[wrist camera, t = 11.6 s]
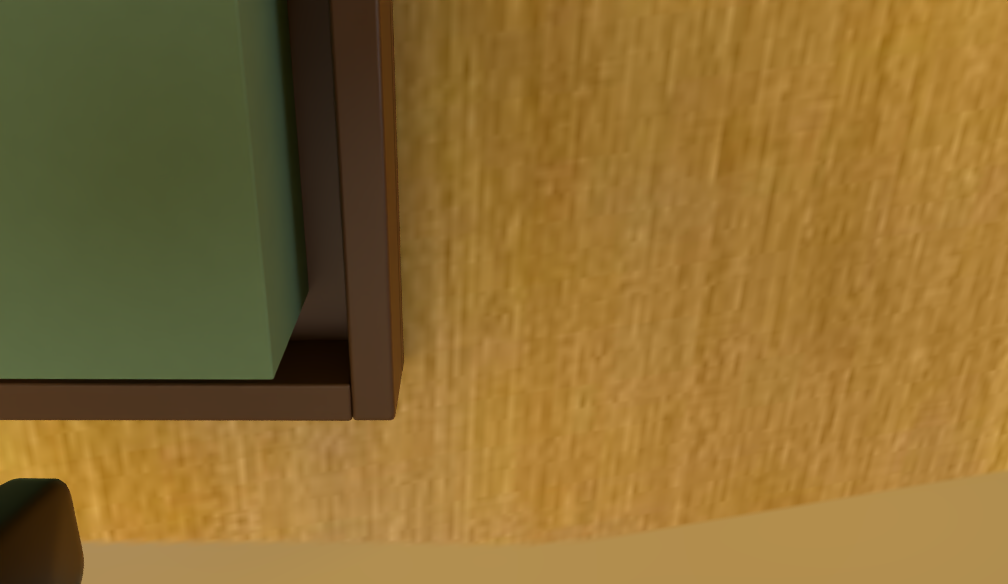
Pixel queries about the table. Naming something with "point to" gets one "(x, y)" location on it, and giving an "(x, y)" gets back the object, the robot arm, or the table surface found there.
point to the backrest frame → (329, 252)
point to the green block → (148, 189)
